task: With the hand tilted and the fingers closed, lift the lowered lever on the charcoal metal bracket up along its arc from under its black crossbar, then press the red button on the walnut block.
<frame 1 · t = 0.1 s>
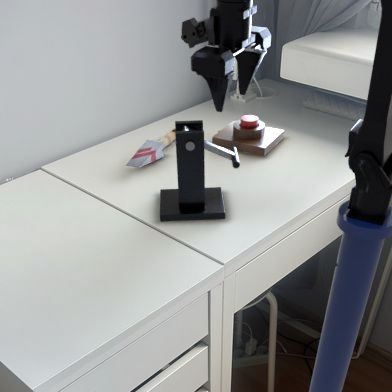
hand: (231, 102, 91), 12 cm above the table, tool pointing down, fingers open, 9 cm apart
bracket: (191, 206, 88), on the table
button block: (248, 141, 107), on the table
button: (249, 122, 104), point 4 cm above the table, slide at 0.1 cm
garden trowel: (157, 155, 104), on the table
lever: (210, 147, 81), point 10 cm above the table, hinge at -25.0°
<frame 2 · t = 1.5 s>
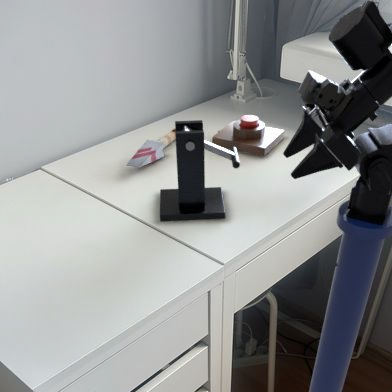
hand: (288, 166, 84), 7 cm above the table, tool tilted 45°, fingers open, 7 cm apart
nothing on the table moved.
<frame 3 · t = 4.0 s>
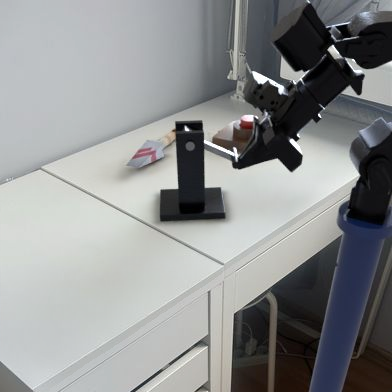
hand: (236, 167, 84), 7 cm above the table, tool tilted 45°, fingers closed, pressing on lever
lever: (210, 147, 81), point 10 cm above the table, hinge at -25.8°, touching gripper
everything else where it was.
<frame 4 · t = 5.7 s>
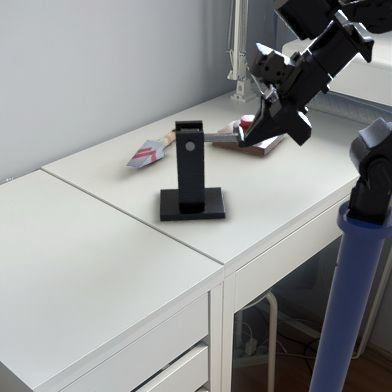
hand: (243, 145, 81), 11 cm above the table, tool tilted 45°, fingers closed, pressing on lever
lever: (212, 137, 80), point 12 cm above the table, hinge at -0.7°, touching gripper
everything else where it was.
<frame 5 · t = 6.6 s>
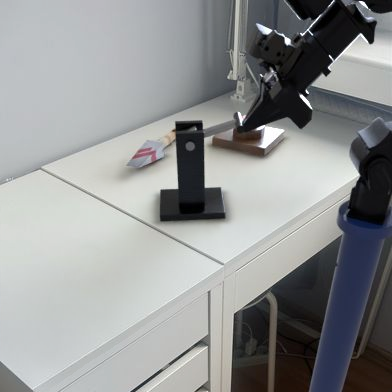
hand: (242, 129, 79), 13 cm above the table, tool tilted 45°, fingers closed, pressing on lever
lever: (211, 131, 79), point 13 cm above the table, hinge at 15.8°, touching gripper
everything else where it was.
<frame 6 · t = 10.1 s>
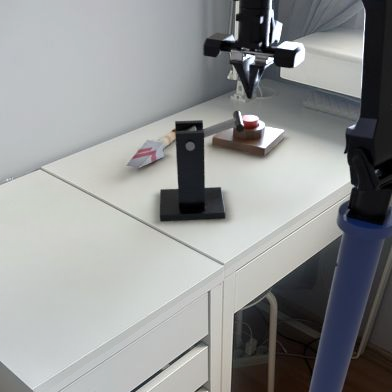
hand: (250, 98, 101), 9 cm above the table, tool pointing down, fingers closed
lever: (211, 130, 79), point 13 cm above the table, hinge at 17.2°
everything else where it was.
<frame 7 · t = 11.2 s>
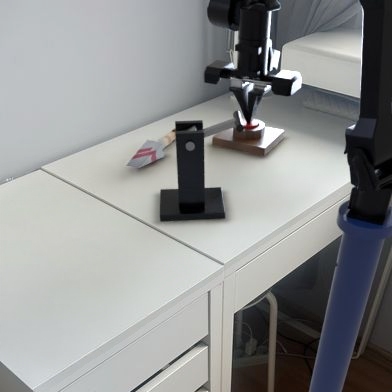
hand: (249, 122, 104), 4 cm above the table, tool pointing down, fingers closed, pressing on button
button: (248, 126, 105), point 3 cm above the table, slide at -0.8 cm, touching gripper
everything else where it was.
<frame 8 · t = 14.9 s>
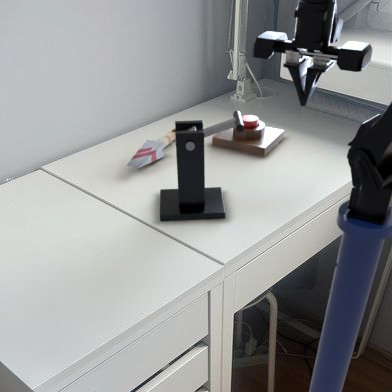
hand: (303, 105, 89), 12 cm above the table, tool pointing down, fingers closed
button: (249, 122, 104), point 4 cm above the table, slide at 0.1 cm
everything else where it was.
at the end: lever at +17° (first picture: -25°); button pushed in 1.1 cm at the most during the clip, back to where it started at the end; button slide at 0.1 cm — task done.
